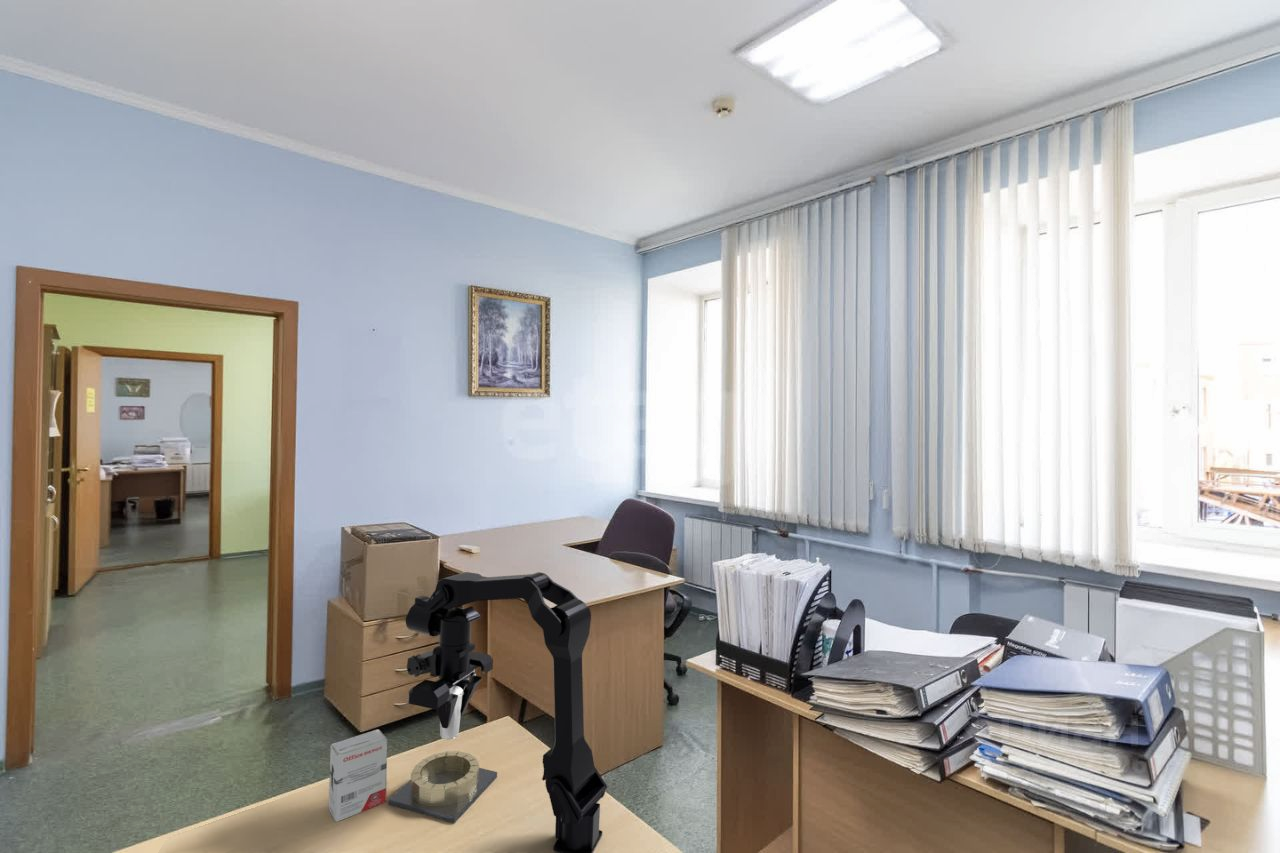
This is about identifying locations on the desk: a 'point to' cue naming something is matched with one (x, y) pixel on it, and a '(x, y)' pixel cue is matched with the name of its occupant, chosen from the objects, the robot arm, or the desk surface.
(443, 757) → the collar station
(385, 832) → the desk surface
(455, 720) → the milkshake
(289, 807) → the desk surface
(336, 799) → the ink box
